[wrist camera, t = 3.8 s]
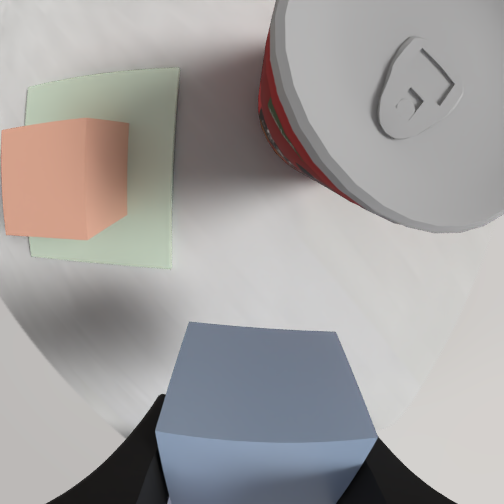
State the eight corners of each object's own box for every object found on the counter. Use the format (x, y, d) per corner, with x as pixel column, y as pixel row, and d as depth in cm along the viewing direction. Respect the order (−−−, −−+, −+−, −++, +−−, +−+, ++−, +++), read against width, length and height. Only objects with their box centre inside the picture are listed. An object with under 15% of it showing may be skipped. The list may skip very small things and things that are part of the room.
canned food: (233, 144, 16) (202, 140, 5) (292, 17, 13) (344, -117, 3) (363, 203, 17) (495, 286, 6) (414, 81, 14) (562, 47, 4)
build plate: (172, 267, 18) (170, 269, 17) (33, 255, 17) (31, 256, 17) (180, 68, 14) (179, 67, 14) (30, 87, 14) (28, 87, 14)
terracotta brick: (127, 214, 16) (87, 240, 12) (55, 212, 16) (6, 235, 12) (129, 123, 15) (86, 117, 10) (54, 129, 15) (1, 130, 10)
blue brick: (308, 425, 12) (324, 518, 8) (191, 419, 12) (174, 514, 7) (335, 331, 11) (377, 437, 6) (189, 321, 10) (155, 430, 6)
